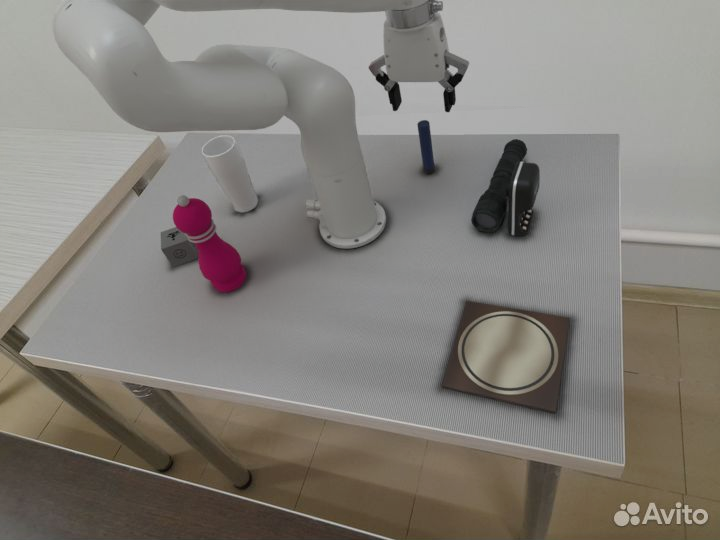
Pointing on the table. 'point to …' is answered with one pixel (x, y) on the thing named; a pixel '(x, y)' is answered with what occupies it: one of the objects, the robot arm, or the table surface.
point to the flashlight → (498, 189)
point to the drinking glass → (230, 172)
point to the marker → (426, 146)
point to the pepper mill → (209, 245)
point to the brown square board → (508, 355)
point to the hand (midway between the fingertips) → (423, 107)
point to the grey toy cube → (177, 247)
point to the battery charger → (522, 197)
